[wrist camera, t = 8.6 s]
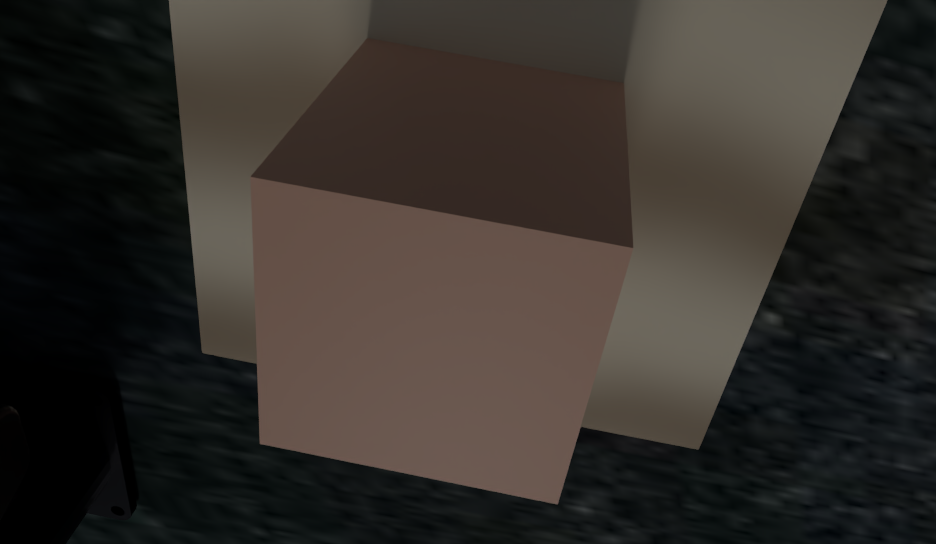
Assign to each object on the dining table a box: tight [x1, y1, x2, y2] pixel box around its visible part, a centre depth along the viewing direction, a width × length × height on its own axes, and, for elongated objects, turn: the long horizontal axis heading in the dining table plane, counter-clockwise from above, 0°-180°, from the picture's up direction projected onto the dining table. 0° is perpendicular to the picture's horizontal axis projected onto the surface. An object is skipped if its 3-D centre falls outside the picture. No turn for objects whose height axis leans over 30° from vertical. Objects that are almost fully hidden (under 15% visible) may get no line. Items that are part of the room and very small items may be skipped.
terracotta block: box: [250, 38, 633, 504], centre depth 14 cm, size 5×5×6 cm
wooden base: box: [169, 0, 887, 450], centre depth 17 cm, size 13×13×2 cm
